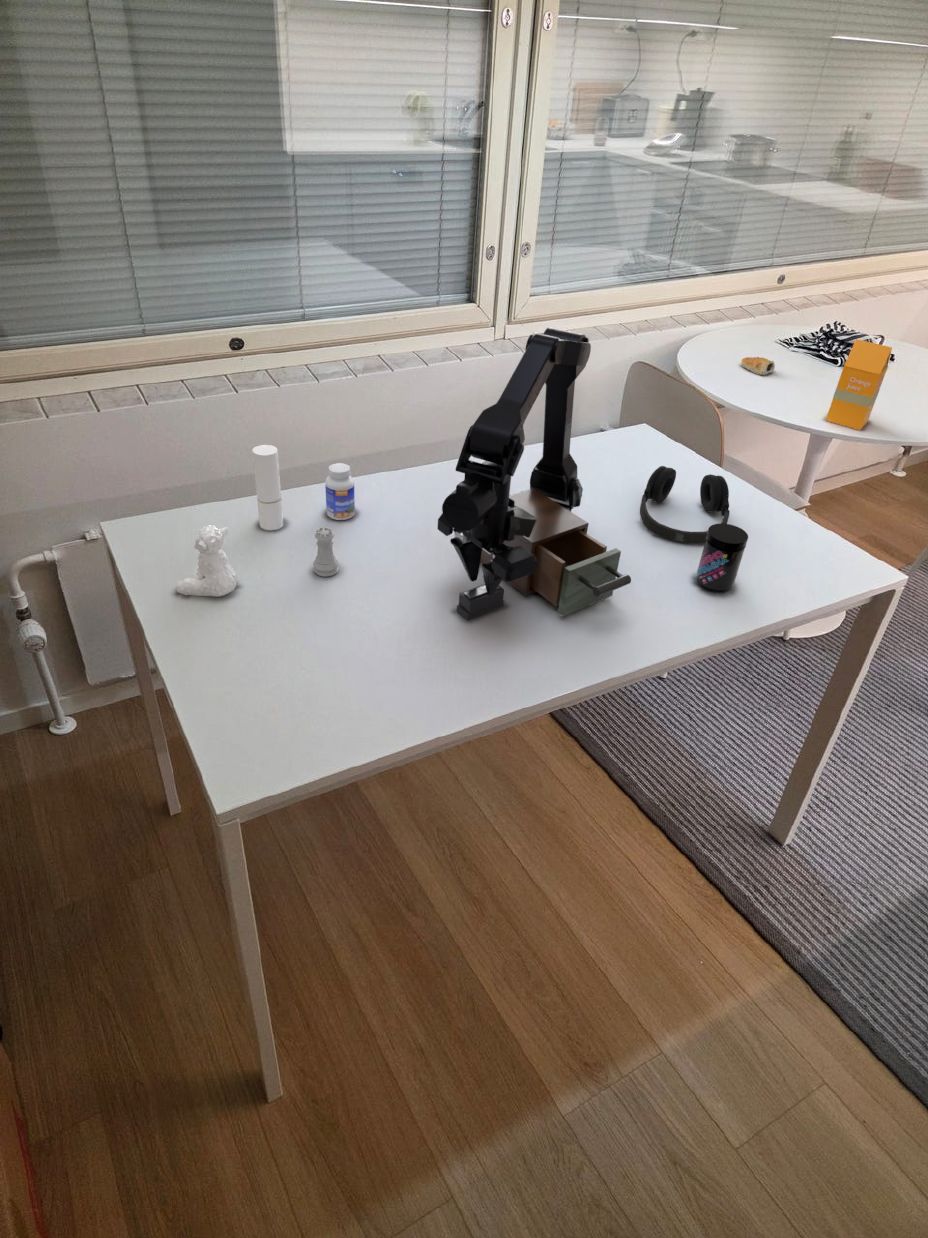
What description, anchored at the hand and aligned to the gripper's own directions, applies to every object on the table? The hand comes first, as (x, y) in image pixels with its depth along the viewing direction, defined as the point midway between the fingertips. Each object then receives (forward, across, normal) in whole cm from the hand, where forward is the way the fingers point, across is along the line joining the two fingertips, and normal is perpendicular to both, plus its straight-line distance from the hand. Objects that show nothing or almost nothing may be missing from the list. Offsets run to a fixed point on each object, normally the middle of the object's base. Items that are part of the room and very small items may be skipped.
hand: (482, 587), depth 135 cm
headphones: (+4, +3, -53) cm, 53 cm away
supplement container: (+4, -16, -40) cm, 43 cm away
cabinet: (+4, +6, -15) cm, 17 cm away
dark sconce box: (+4, 0, 0) cm, 4 cm away
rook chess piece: (+4, +23, +16) cm, 28 cm away
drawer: (+3, -6, -15) cm, 16 cm away
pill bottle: (+4, +39, +4) cm, 39 cm away
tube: (+4, +42, +17) cm, 46 cm away
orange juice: (+4, +16, -131) cm, 132 cm away
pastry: (+4, +52, -141) cm, 150 cm away
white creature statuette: (+4, +28, +34) cm, 44 cm away
